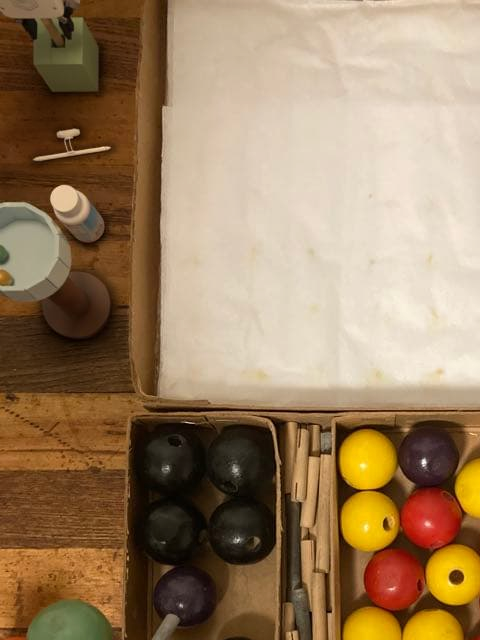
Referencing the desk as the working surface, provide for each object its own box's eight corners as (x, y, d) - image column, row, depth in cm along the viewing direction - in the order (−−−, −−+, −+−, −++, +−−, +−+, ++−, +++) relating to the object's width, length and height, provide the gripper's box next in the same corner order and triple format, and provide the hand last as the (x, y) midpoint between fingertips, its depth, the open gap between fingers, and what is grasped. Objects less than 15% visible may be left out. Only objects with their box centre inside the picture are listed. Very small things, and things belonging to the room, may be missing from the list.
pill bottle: (92, 204, 151) (68, 173, 140) (112, 231, 151) (89, 201, 140) (64, 223, 151) (38, 193, 140) (84, 250, 151) (59, 222, 140)
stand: (51, 91, 153) (33, 64, 145) (52, 47, 153) (33, 17, 145) (98, 91, 153) (82, 64, 145) (98, 47, 153) (82, 17, 145)
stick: (71, 73, 153) (34, 12, 137) (71, 64, 153) (34, 3, 137) (80, 73, 153) (43, 12, 137) (80, 64, 153) (44, 3, 137)
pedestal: (44, 339, 150) (-13, 298, 129) (45, 273, 150) (-11, 221, 129) (112, 338, 150) (66, 297, 129) (112, 273, 151) (67, 221, 130)
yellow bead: (-6, 290, 126) (-7, 273, 125) (-8, 283, 128) (-9, 266, 126) (13, 290, 128) (12, 274, 126) (11, 283, 129) (9, 266, 128)
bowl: (-17, 302, 129) (-34, 290, 124) (-16, 217, 130) (-32, 202, 125) (71, 301, 129) (58, 290, 124) (72, 216, 130) (59, 201, 125)
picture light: (34, 162, 152) (29, 156, 150) (31, 139, 152) (25, 133, 150) (111, 150, 152) (107, 144, 150) (107, 127, 152) (104, 121, 150)
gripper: (-56, -26, 124) (1, 53, 142) (61, -26, 124) (103, 52, 143) (-55, -74, 125) (2, 10, 143) (61, -75, 125) (103, 10, 143)
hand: (52, 31), depth 142 cm, fingers open, 5 cm apart
